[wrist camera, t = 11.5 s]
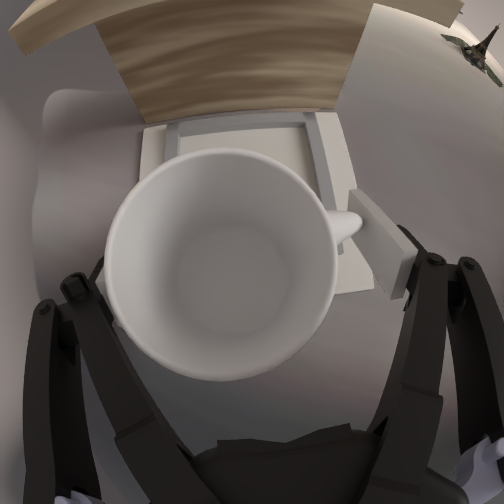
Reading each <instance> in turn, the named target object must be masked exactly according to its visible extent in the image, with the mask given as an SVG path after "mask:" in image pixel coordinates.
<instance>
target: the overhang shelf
mask: <svg viewBox="0 0 504 504" xmlns="http://www.w3.org/2000/svg"><path fill="white" fill-rule="evenodd" d="M373 3H377V4H381V5H385V6H389V7H392V8H396V9H399V10H402V11H405V12H408V13H412V14H414V15H417V16H420V17H423V18H426V19H428V20H431V21H433V22H436V23H438V24H441V25H443V26H445V27H448V28H450V27H451V25H452V23H453V22H454V20H455V18H456V17H457V15H458V13H459V12H460V10H461V8H462V6H463V5H464V3H463V2H462V1H461V0H35V1H34V2H33V3H32V4H31V5H30V6H29V7H28V9H27V10H26V11H25V12H24V13H23V14H22V15H21V16H20V17H19V19H18V20H17V21H16V22H15V23H14V25H13V26H12V27H11V28H10V29H9V30H8V33H9V35H10V36H11V37H12V39H13V40H14V41H15V43H16V44H17V45H18V46H19V48H20V49H21V51H22V52H23V53H24V55H25V56H27V55H28V54H30V53H32V52H33V51H35V50H37V49H39V48H40V47H42V46H44V45H46V44H48V43H49V42H51V41H53V40H55V39H57V38H59V37H61V36H63V35H66V34H68V33H70V32H72V31H74V30H76V29H79V28H81V27H83V26H86V25H88V24H91V23H93V22H94V24H95V26H96V28H97V30H98V32H99V34H100V36H101V38H102V40H103V42H104V44H105V46H106V48H107V50H108V52H109V54H110V56H111V58H112V60H113V62H114V64H115V66H116V67H117V70H118V71H119V73H120V75H121V77H122V79H123V81H124V83H125V85H126V87H127V88H128V91H129V92H130V94H131V96H132V98H133V100H134V102H135V104H136V106H137V107H138V109H139V111H140V113H141V115H142V117H143V119H144V120H145V122H146V124H149V123H154V122H159V121H164V120H170V119H176V118H182V117H188V116H195V115H203V114H211V113H219V112H229V111H241V110H255V109H275V108H329V109H334V106H335V103H336V101H337V98H338V96H339V93H340V91H341V88H342V86H343V83H344V81H345V78H346V75H347V73H348V70H349V68H350V65H351V62H352V60H353V57H354V55H355V52H356V49H357V47H358V44H359V41H360V39H361V36H362V33H363V31H364V28H365V25H366V22H367V20H368V17H369V14H370V12H371V9H372V6H373Z"/></svg>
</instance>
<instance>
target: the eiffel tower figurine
mask: <svg viewBox="0 0 504 504" xmlns="http://www.w3.org/2000/svg"><path fill="white" fill-rule="evenodd" d="M498 29H499V25H498V26H496V27H495V29H494V30H493V31H492V32H491V34H489V36H488V37H487V38H486V39H485V40H484V41H482V42H481V43H479V44H477V45H475V46H474V45H473V46H471V47H470V46H469V45H468V44H467V43H466V42H465V41H463V40H461V39H460V38H457V37H453V36H448V35H443V34H441V35H442V36H443V37H444V38H445V39H446V40H447V41H450V42H452V43H454V44H456V45H457V46H459V47H461V49H462V52H463V54H464V57H465V59H466V60H467V61H469V62H470V63H471V65H473V66H476V67H477V68H478V69H480V70H481V71H482V72H484V73H485V70H487V74H488V75H489V77H490V78H491V79H492V80H493V82H495V83H496V84H497V85H498V86H499V87H504V85H503V84H502V82H501V81H500V80H499V79H498V77H497V76H496V75H495V74H494V73H493V71H492V70H491V69H490V68H489V67H488V65H487V64H486V63H485V59H486V58H485V54H486V50H487V47H488V45H489V43H490V41H491V39H492V38H493V36H494V34H495V33H496V31H497V30H498ZM485 74H486V73H485Z"/></svg>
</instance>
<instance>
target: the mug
mask: <svg viewBox="0 0 504 504" xmlns="http://www.w3.org/2000/svg"><path fill="white" fill-rule="evenodd" d="M362 225H363V220H362V218H361V217H360V216H359V215H358V214H356V213H353V212H349V211H338V210H325V208H324V206H323V205H322V203H321V202H320V200H319V199H318V197H317V196H316V194H315V193H314V191H313V190H312V189H311V188H310V187H309V186H308V185H307V183H306V182H305V181H304V180H303V179H302V178H300V177H299V176H298V175H297V174H296V173H295V172H294V171H292V170H291V169H289V168H288V167H286V166H285V165H283V164H282V163H280V162H278V161H276V160H274V159H272V158H270V157H268V156H265V155H263V154H260V153H257V152H254V151H250V150H245V149H240V148H230V147H215V148H206V149H199V150H195V151H191V152H188V153H184V154H181V155H179V156H177V157H174V158H172V159H170V160H168V161H166V162H164V163H163V164H161V165H159V166H158V167H156V168H155V169H153V170H152V171H151V172H149V173H148V174H147V175H146V176H144V177H143V178H142V179H141V180H140V181H139V182H138V183H137V184H136V185H135V186H134V187H133V189H132V190H131V191H130V192H129V193H128V195H127V196H126V198H125V199H124V201H123V202H122V204H121V205H120V207H119V209H118V211H117V213H116V215H115V217H114V219H113V221H112V224H111V227H110V230H109V233H108V236H107V241H106V246H105V254H104V277H105V284H106V290H107V294H108V298H109V301H110V304H111V307H112V309H113V312H114V314H115V316H116V318H117V320H118V322H119V324H120V325H121V327H122V328H123V330H124V331H125V333H126V334H127V336H128V337H129V338H130V339H131V340H132V341H133V343H134V344H135V345H136V346H137V347H138V348H139V349H140V350H141V351H142V352H144V353H145V354H146V355H147V356H148V357H149V358H151V359H152V360H154V361H155V362H157V363H158V364H160V365H161V366H163V367H165V368H167V369H169V370H171V371H173V372H175V373H178V374H181V375H184V376H187V377H190V378H195V379H200V380H206V381H232V380H241V379H245V378H249V377H253V376H257V375H259V374H262V373H264V372H267V371H269V370H271V369H273V368H275V367H277V366H278V365H280V364H282V363H284V362H285V361H287V360H288V359H289V358H291V357H292V356H293V355H294V354H296V353H297V352H298V351H299V350H300V349H301V348H302V347H303V346H304V345H305V344H306V343H307V342H308V341H309V340H310V339H311V338H312V336H313V335H314V334H315V332H316V331H317V330H318V328H319V327H320V325H321V323H322V322H323V320H324V318H325V316H326V314H327V312H328V310H329V307H330V304H331V302H332V299H333V296H334V292H335V287H336V283H337V275H338V250H337V245H339V244H340V243H342V242H343V241H345V240H346V239H348V238H349V237H351V236H352V235H354V234H355V233H356V232H358V231H359V230H360V229H361V228H362Z"/></svg>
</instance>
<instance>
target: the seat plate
mask: <svg viewBox="0 0 504 504" xmlns="http://www.w3.org/2000/svg"><path fill="white" fill-rule="evenodd" d="M215 147H230V148H240V149H245V150H250V151H254V152H257V153H260V154H263V155H265V156H268V157H270V158H272V159H274V160H276V161H278V162H280V163H282V164H283V165H285V166H286V167H288V168H289V169H291V170H292V171H294V172H295V173H296V174H297V175H298V176H299V177H300V178H302V179H303V180H304V181H305V182H306V183H307V185H308V186H309V187H310V188H311V189H312V190H313V191H314V193H315V194H316V196H317V197H318V199H319V200H320V202H321V203H322V205H323V206H324V208H325V210H338V211H347V207H348V196H349V189H357V185H356V180H355V176H354V172H353V168H352V164H351V160H350V156H349V153H348V149H347V145H346V142H345V138H344V135H343V131H342V128H341V125H340V121H339V118H338V115H337V113H326V112H283V113H259V114H244V115H232V116H222V117H213V118H205V119H197V120H190V121H184V122H177V123H171V124H166V125H160V126H155V127H150V128H145V129H144V133H143V142H142V152H141V164H140V177H139V181H140V180H141V179H142V178H143V177H144V176H146V175H147V174H148V173H149V172H151V171H152V170H153V169H155V168H156V167H158V166H159V165H161V164H163V163H164V162H166V161H168V160H170V159H172V158H174V157H177V156H179V155H181V154H184V153H188V152H191V151H195V150H199V149H206V148H215ZM337 250H338V275H337V283H336V287H335V292H334V294H341V293H348V292H355V291H362V290H369V289H374V281H373V273H372V270H371V268H370V267H369V265H368V263H367V262H366V260H365V259H364V257H363V255H362V254H361V252H360V251H359V249H358V248H357V246H356V245H355V243H354V242H353V240H352V239H351V237H349V238H348V239H346V240H345V241H343V242H342V243H340V244H339V245H337Z"/></svg>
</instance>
